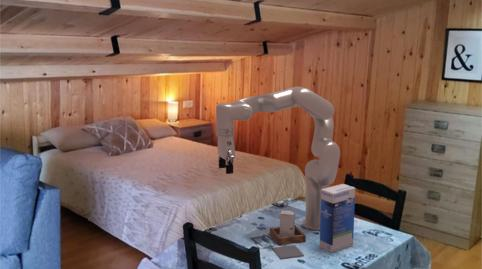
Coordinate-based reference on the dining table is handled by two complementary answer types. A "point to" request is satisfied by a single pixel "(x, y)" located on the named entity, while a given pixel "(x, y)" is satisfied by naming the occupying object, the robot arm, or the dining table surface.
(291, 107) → the robot arm
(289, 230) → the skincare box
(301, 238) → the holder
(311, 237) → the dining table surface
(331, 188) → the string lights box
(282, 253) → the mat
